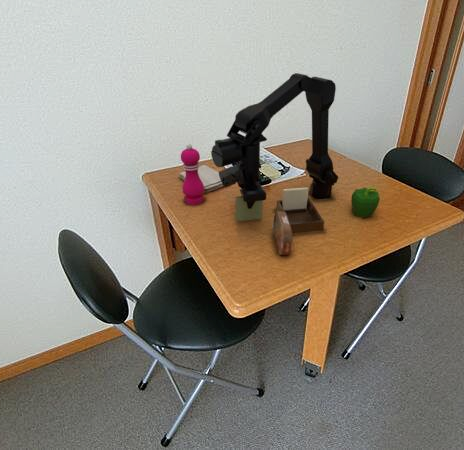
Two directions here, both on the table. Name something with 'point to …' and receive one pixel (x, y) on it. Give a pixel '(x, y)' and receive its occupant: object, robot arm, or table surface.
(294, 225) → the coaster holder
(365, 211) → the bell pepper
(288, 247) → the tin
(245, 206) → the sage coaster
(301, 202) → the cream coaster
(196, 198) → the pepper mill
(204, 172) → the washcloth
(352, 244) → the table surface
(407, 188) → the table surface
